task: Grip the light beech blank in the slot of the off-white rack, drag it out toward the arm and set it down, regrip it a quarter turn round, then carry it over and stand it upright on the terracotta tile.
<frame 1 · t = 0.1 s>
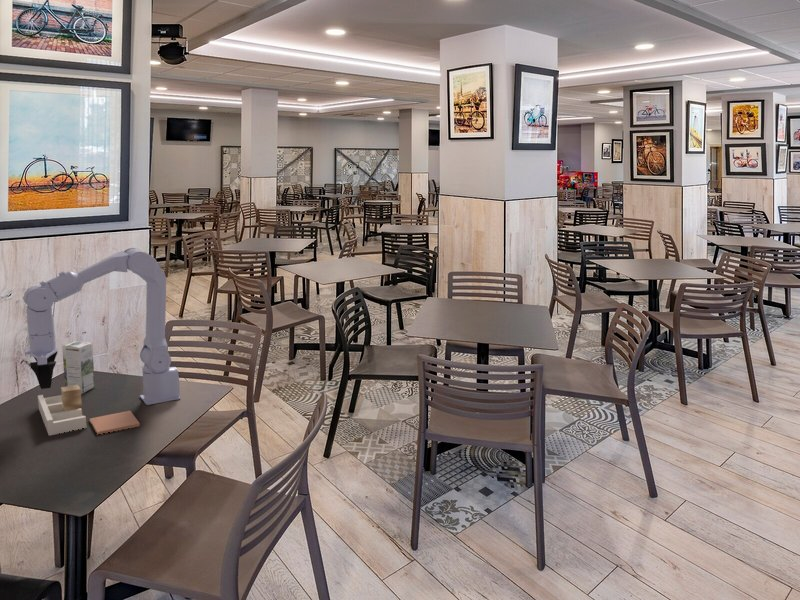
hand: (46, 383, 152), 10 cm above the table, tool pointing down, fingers open, 7 cm apart
beech blank: (73, 416, 156), on the table
white carton: (80, 390, 175), on the table
terracotta tile: (114, 423, 153), on the table
slot rack: (73, 416, 156), on the table
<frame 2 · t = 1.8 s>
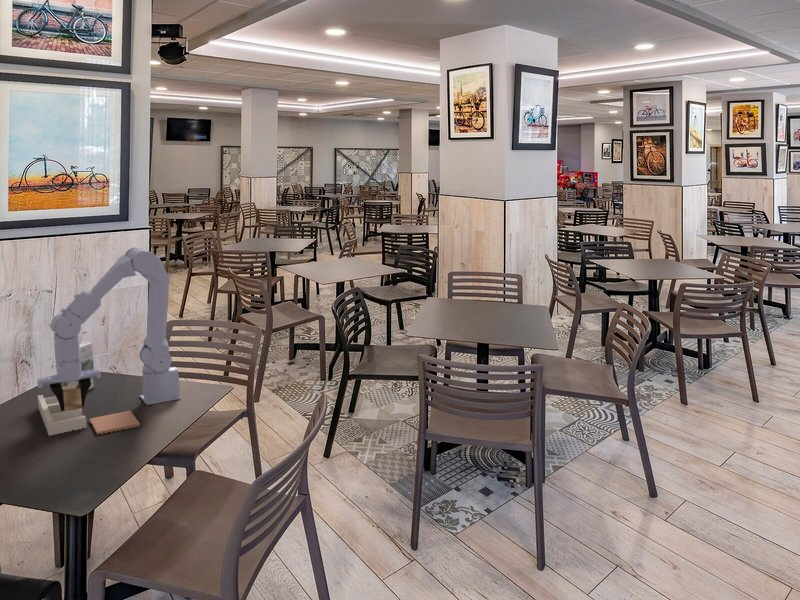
hand: (72, 407, 156), 2 cm above the table, tool pointing down, fingers closed on beech blank, 4 cm apart
beech blank: (73, 416, 156), on the table, touching gripper
everything else where it was.
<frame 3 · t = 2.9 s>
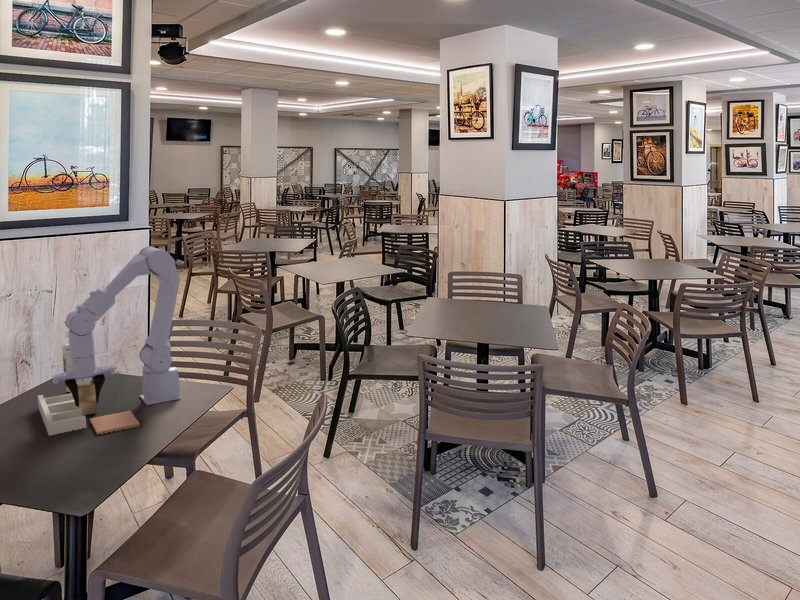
hand: (86, 403, 158), 3 cm above the table, tool pointing down, fingers closed on beech blank, 4 cm apart
beech blank: (87, 411, 158), on the table, touching gripper
everything else where it was.
when the fingers open (2 cm above the table, at t = 4.3 s): beech blank stays where it is, on the table.
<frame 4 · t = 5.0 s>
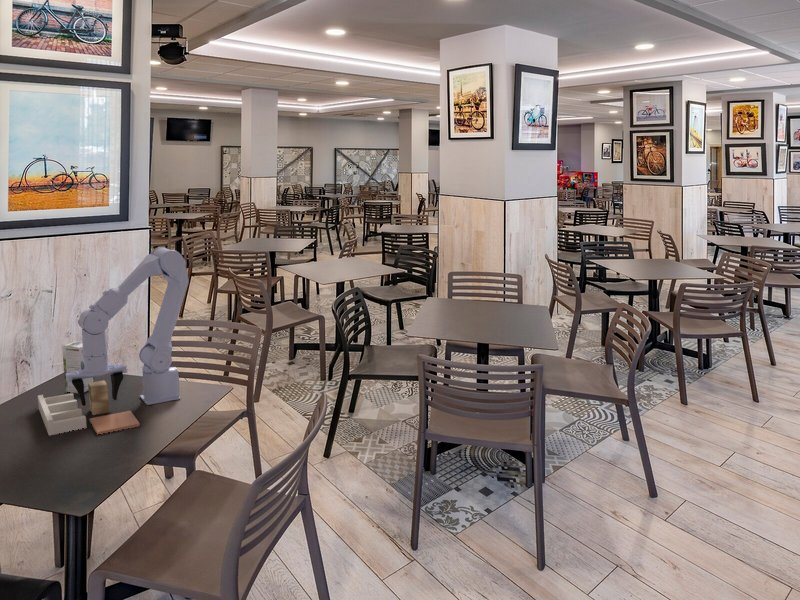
hand: (99, 401, 160), 3 cm above the table, tool pointing down, fingers open, 7 cm apart
beech blank: (99, 411, 160), on the table
everything else where it was.
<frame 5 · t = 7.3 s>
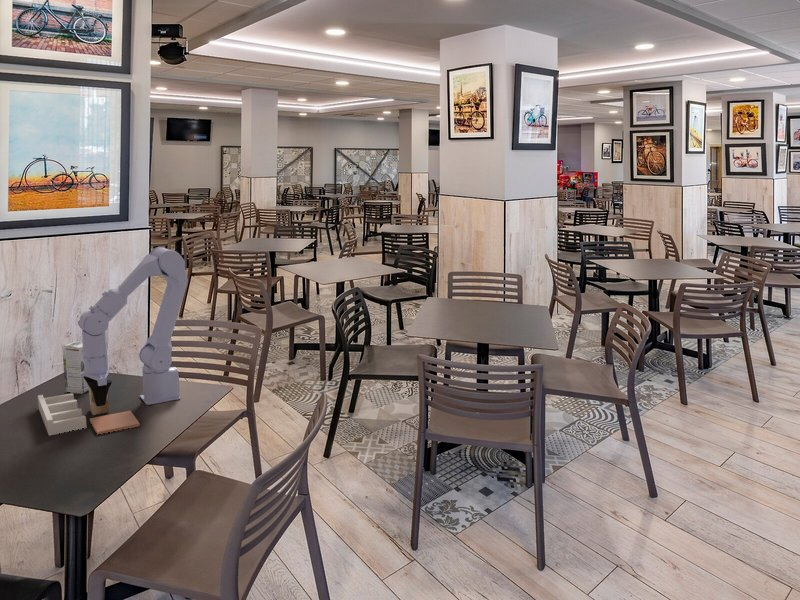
hand: (99, 402, 160), 2 cm above the table, tool pointing down, fingers closed on beech blank, 4 cm apart
beech blank: (99, 411, 160), on the table, touching gripper
everything else where it was.
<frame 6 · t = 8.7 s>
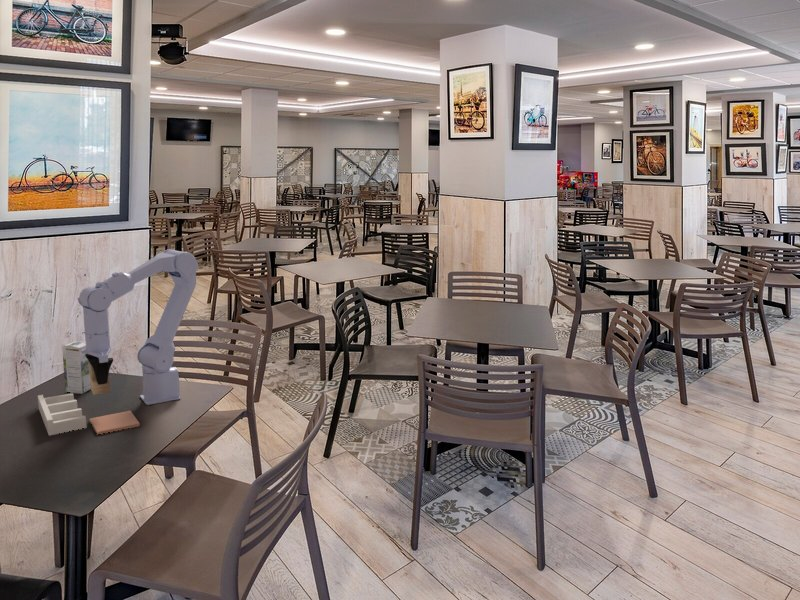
hand: (100, 381, 156), 9 cm above the table, tool pointing down, fingers closed on beech blank, 4 cm apart
beech blank: (100, 391, 157), point 7 cm above the table, touching gripper
everything else where it was.
when the fingers open (4 cm above the table, at t = 10.6 s): beech blank stays where it is, resting on terracotta tile.
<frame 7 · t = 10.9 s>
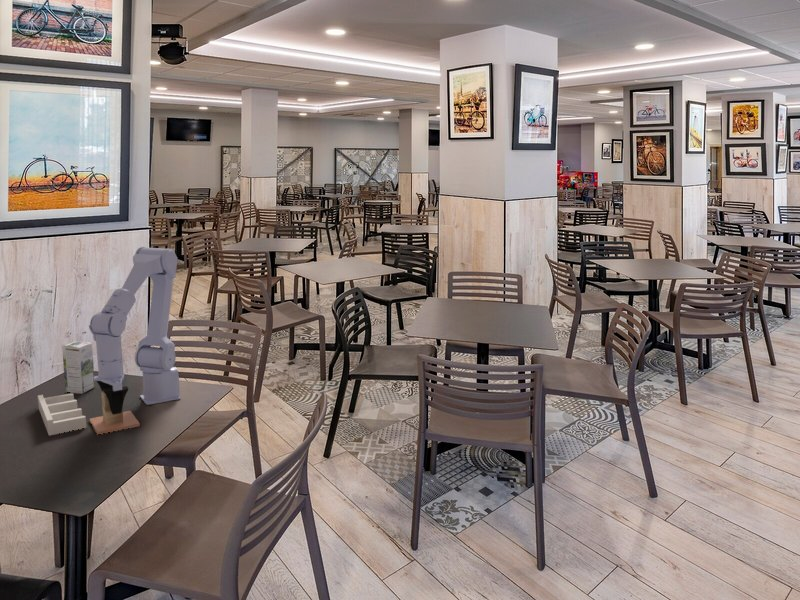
hand: (113, 408, 152), 4 cm above the table, tool pointing down, fingers open, 7 cm apart
beech blank: (113, 421, 152), point 1 cm above the table, touching terracotta tile
everything else where it was.
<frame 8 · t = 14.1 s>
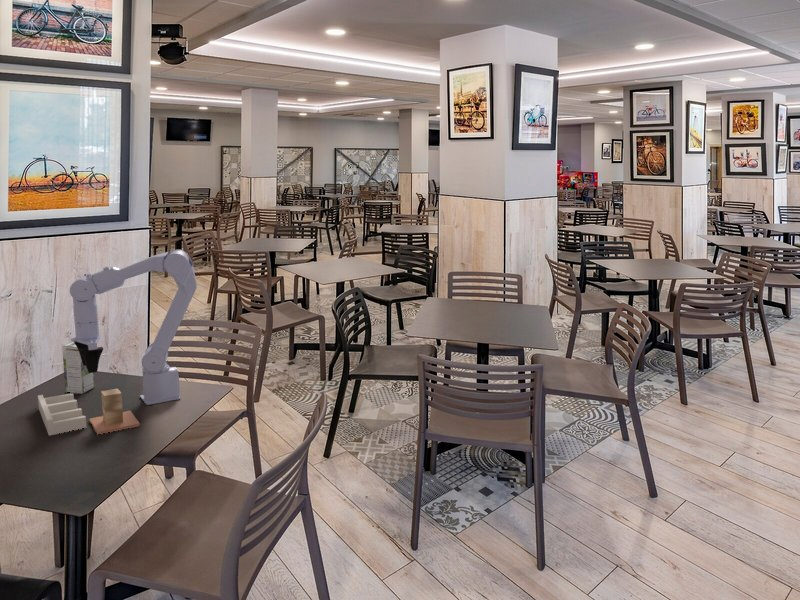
hand: (90, 368, 163), 10 cm above the table, tool pointing down, fingers open, 7 cm apart
nothing on the table moved.
at the end: beech blank 0.3 cm off-centre on the terracotta tile, point 0.8 cm above the terracotta tile's base; beech blank tilted 0°; the gripper is holding nothing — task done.
